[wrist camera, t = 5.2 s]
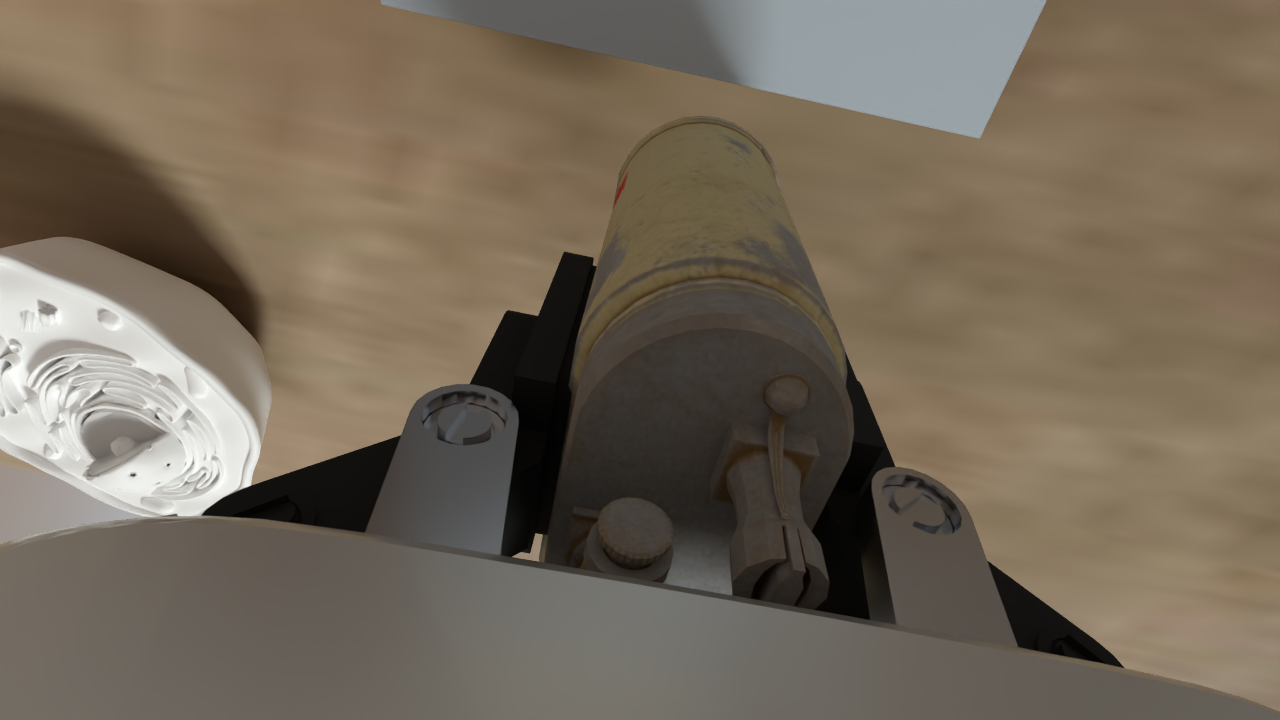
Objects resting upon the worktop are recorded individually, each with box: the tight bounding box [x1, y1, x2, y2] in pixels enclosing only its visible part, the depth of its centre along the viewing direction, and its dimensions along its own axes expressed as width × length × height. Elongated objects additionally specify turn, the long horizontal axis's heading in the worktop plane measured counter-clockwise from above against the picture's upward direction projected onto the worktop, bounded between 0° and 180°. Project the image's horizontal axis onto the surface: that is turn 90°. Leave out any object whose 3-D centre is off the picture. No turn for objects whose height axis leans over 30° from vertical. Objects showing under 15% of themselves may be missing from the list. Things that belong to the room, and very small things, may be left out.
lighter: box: [539, 116, 854, 610], centre depth 10 cm, size 7×4×10 cm, turn 169°
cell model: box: [0, 237, 272, 517], centre depth 23 cm, size 10×12×7 cm
